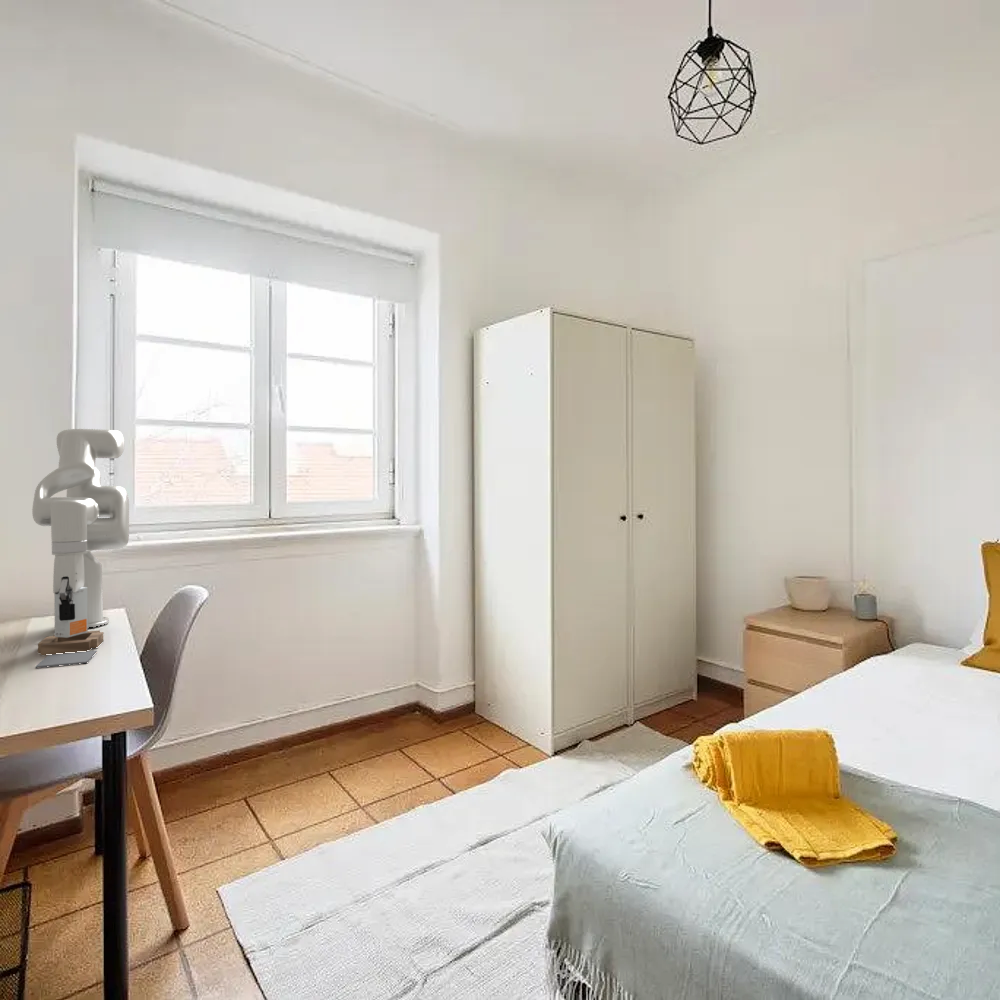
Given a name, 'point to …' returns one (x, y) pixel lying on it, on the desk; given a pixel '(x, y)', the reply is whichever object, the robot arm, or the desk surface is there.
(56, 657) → the grey rubber mat
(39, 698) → the desk surface
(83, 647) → the box
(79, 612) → the skincare box
